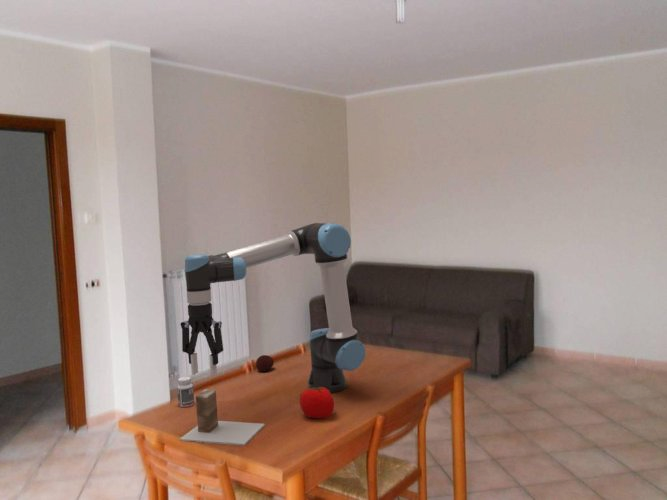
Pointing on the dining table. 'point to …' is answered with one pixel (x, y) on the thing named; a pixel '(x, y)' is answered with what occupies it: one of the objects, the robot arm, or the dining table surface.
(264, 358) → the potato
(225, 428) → the mat
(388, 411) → the dining table surface
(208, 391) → the slab
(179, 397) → the pill bottle
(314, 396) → the tomato
